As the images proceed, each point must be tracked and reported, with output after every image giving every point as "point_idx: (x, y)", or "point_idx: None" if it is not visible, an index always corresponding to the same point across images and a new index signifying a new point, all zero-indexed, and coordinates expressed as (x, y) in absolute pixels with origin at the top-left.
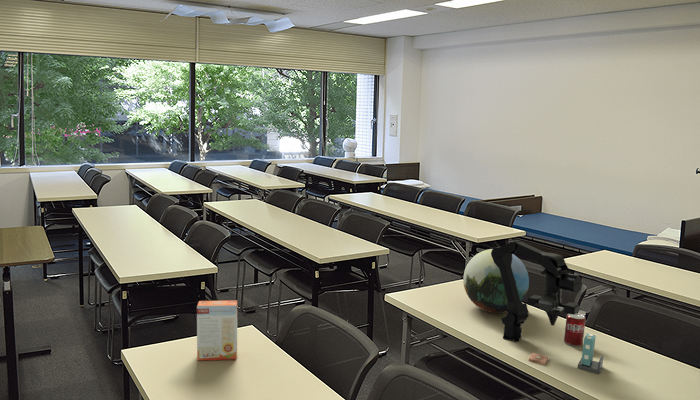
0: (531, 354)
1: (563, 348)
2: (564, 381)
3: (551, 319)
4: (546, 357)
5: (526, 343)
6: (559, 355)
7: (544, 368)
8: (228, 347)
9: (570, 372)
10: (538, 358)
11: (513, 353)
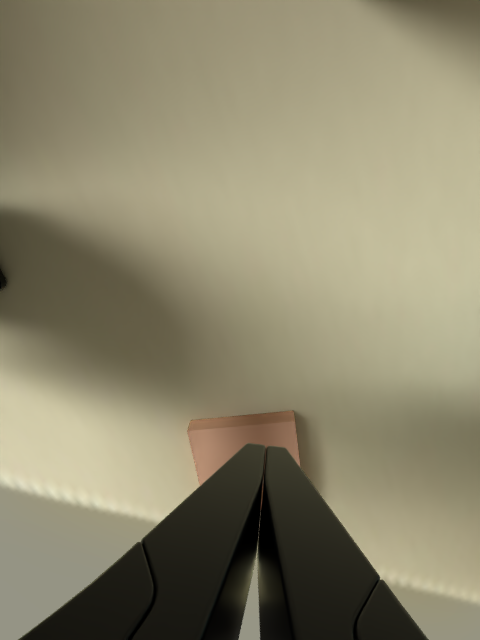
0: (194, 457)
1: (323, 116)
2: (448, 588)
3: (239, 625)
4: (287, 436)
5: (62, 264)
6: (336, 293)
7: None
8: None
9: (460, 484)
10: None
11: (99, 471)
